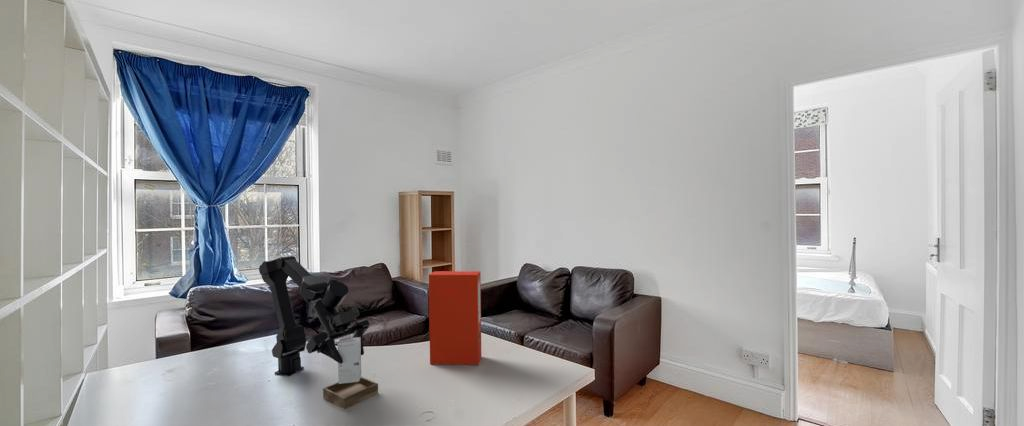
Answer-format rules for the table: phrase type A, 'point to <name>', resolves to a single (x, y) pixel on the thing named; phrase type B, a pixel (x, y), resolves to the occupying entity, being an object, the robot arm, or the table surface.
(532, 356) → the table surface
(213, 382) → the table surface
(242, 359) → the table surface
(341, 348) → the skincare box
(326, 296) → the robot arm
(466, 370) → the table surface
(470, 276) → the file binder
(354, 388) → the shallow wooden tray
